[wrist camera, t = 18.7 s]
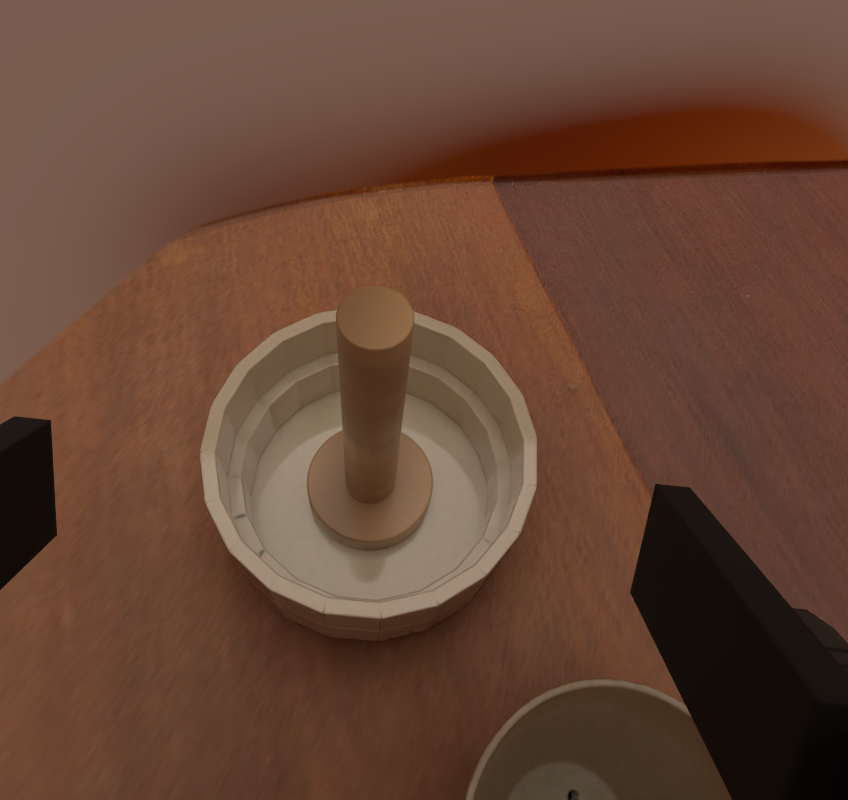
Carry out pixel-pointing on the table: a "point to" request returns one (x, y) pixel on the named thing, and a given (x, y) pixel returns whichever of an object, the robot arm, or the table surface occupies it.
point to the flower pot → (598, 748)
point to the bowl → (321, 419)
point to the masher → (371, 430)
